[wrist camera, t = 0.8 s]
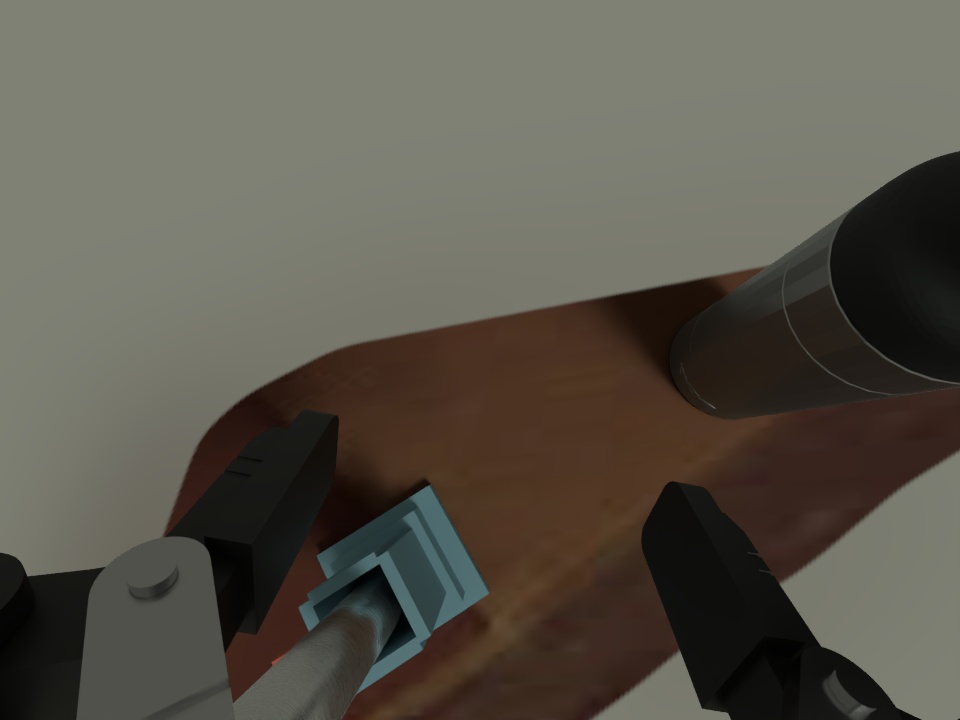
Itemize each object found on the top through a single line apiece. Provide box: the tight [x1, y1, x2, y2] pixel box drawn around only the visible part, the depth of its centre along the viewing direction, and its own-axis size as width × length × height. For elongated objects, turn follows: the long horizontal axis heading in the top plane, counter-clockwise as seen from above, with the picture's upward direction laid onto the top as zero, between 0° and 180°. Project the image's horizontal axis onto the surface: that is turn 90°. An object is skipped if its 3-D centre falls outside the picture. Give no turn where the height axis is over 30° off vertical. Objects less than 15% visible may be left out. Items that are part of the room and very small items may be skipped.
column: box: [233, 564, 405, 720], centre depth 19 cm, size 6×6×24 cm
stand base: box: [272, 485, 489, 694], centre depth 27 cm, size 10×9×10 cm
